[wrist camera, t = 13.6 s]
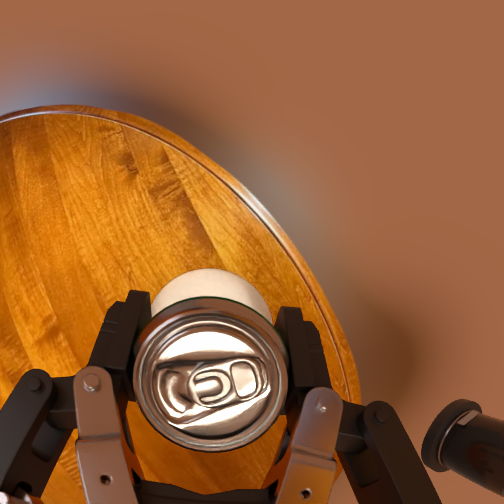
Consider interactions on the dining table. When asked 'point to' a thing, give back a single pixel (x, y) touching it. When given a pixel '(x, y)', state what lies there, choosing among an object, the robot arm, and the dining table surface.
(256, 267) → the dining table surface
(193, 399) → the soda can
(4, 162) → the dining table surface
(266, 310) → the canister
